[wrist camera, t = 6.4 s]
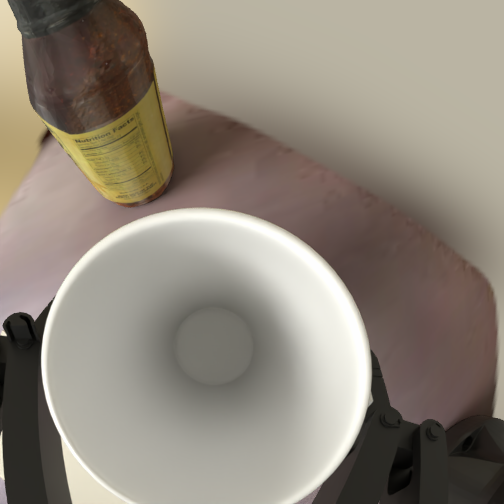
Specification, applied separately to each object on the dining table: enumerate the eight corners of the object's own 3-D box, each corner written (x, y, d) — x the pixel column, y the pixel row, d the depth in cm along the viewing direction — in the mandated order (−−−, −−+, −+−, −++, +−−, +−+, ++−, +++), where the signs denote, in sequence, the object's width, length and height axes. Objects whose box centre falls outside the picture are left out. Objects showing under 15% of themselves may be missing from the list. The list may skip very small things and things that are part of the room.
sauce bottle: (109, 143, 22) (25, -72, 3) (181, 141, 23) (157, -113, 4) (92, 216, 21) (-72, 0, 1) (171, 217, 21) (85, -90, 2)
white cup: (273, 305, 20) (395, 241, 6) (255, 402, 19) (334, 536, 4) (174, 284, 20) (81, 176, 6) (155, 382, 18) (30, 472, 4)
